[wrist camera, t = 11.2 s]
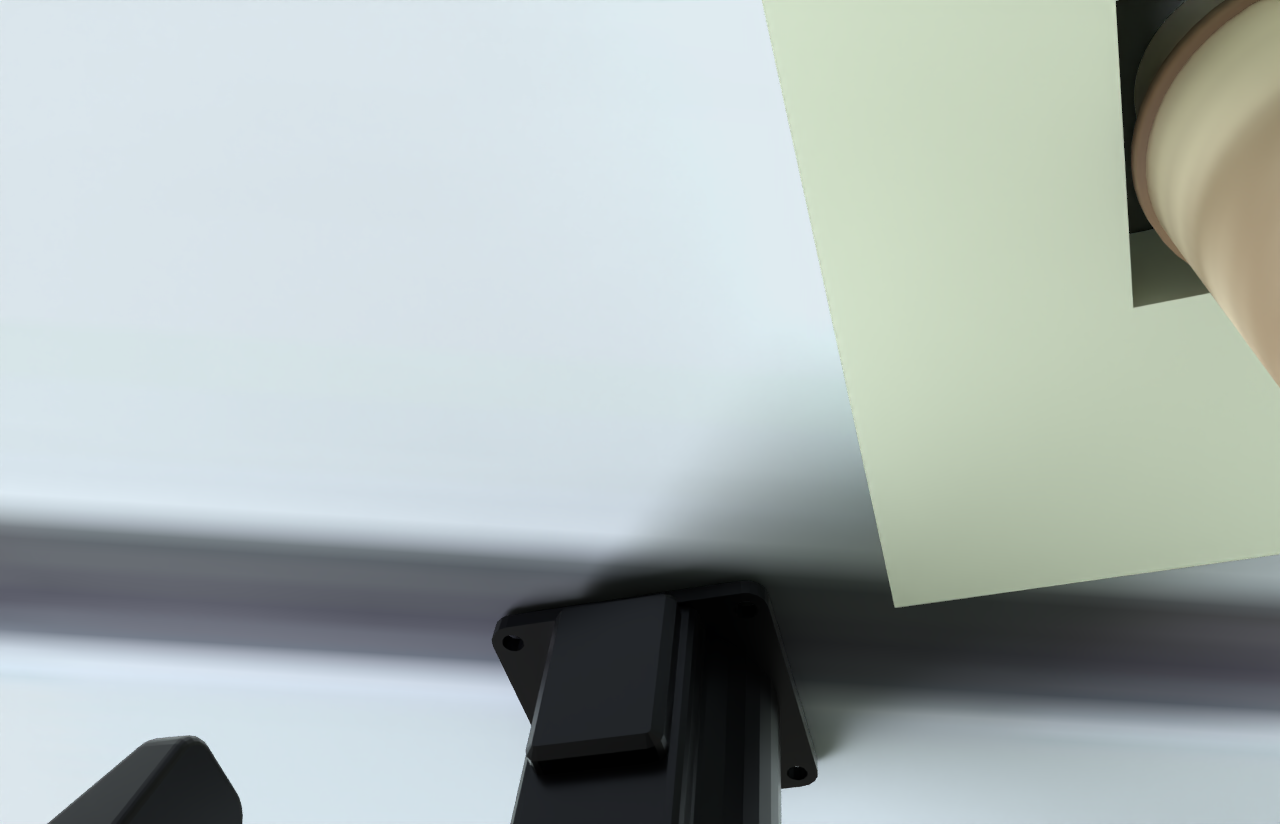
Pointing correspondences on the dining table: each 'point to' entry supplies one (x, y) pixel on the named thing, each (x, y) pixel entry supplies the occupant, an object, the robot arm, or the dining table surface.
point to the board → (1015, 304)
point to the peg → (1217, 156)
